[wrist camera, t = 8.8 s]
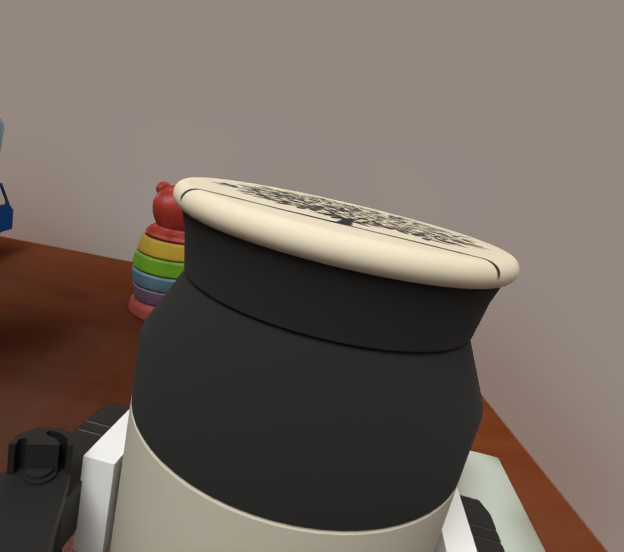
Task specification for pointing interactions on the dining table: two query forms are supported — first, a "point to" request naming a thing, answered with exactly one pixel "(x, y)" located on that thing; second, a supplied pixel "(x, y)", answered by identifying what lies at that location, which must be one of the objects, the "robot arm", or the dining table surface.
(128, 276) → the dining table surface
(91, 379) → the dining table surface
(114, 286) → the dining table surface
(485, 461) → the plinth
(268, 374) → the travel mug
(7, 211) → the toy vehicle
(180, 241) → the stacking bear
